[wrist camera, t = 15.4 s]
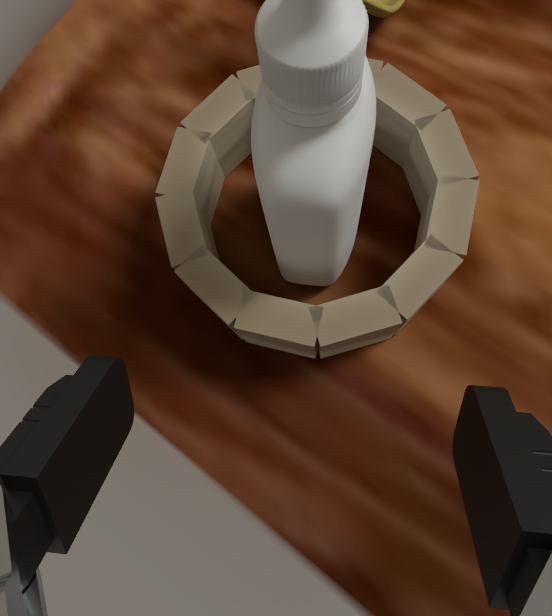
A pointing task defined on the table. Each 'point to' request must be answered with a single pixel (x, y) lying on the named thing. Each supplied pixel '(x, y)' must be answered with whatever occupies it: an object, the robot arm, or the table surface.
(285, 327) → the birch ring collar
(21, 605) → the robot arm
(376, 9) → the yellow square tray
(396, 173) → the table surface
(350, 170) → the eye dropper bottle
